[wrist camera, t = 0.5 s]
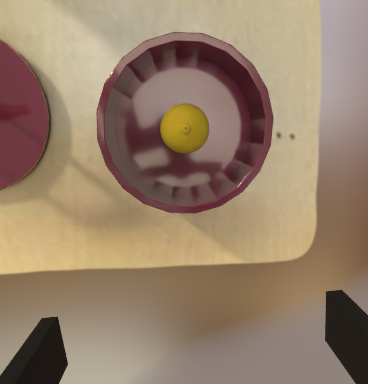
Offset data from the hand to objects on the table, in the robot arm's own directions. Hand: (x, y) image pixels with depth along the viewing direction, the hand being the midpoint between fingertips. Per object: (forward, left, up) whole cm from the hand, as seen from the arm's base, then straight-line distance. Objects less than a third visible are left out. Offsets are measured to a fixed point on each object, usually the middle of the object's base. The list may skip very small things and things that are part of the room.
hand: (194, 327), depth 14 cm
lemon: (-9, +3, -25) cm, 26 cm away
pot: (-9, +3, -25) cm, 27 cm away
